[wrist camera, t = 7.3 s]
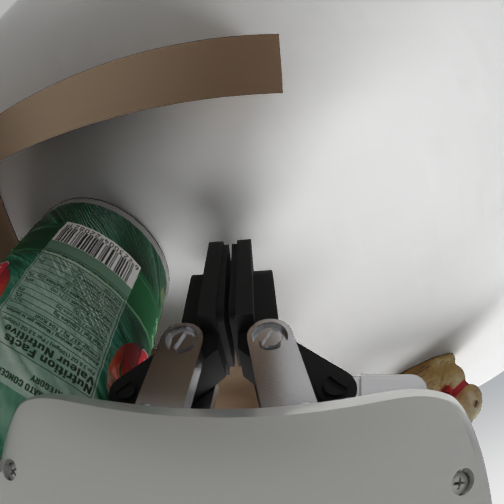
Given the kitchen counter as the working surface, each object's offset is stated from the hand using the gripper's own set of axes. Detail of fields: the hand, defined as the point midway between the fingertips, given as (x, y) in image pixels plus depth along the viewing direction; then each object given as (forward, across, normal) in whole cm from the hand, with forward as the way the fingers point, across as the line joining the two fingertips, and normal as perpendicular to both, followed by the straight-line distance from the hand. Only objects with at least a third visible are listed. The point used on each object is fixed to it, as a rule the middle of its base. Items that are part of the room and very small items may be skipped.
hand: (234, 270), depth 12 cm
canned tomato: (+1, +7, 0) cm, 7 cm away
